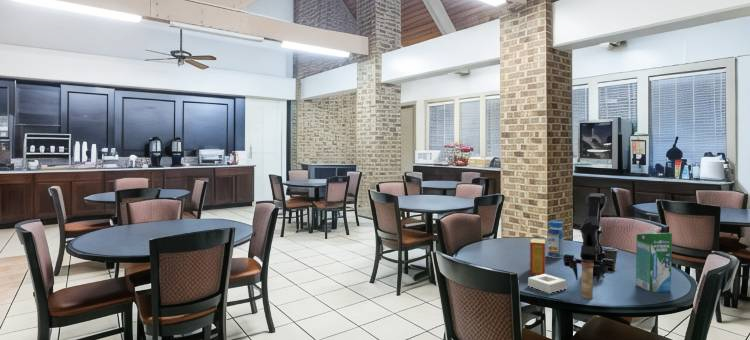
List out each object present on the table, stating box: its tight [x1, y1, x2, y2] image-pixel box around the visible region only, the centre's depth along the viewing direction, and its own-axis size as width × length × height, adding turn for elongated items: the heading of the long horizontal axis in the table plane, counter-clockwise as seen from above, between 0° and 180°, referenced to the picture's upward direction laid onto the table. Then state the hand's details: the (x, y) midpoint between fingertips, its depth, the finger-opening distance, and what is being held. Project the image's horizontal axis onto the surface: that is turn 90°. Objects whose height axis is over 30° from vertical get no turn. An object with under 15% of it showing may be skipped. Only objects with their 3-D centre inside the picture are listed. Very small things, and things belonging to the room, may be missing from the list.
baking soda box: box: [529, 238, 546, 275], centre depth 200 cm, size 10×6×16 cm
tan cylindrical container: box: [580, 261, 594, 300], centre depth 166 cm, size 5×5×14 cm
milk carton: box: [635, 230, 673, 293], centre depth 175 cm, size 9×9×25 cm
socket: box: [527, 273, 567, 294], centre depth 177 cm, size 11×11×4 cm
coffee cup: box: [602, 246, 619, 266], centre depth 207 cm, size 8×8×10 cm
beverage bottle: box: [547, 220, 565, 259], centre depth 228 cm, size 8×8×20 cm
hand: (586, 280), depth 164 cm, fingers open, 7 cm apart
